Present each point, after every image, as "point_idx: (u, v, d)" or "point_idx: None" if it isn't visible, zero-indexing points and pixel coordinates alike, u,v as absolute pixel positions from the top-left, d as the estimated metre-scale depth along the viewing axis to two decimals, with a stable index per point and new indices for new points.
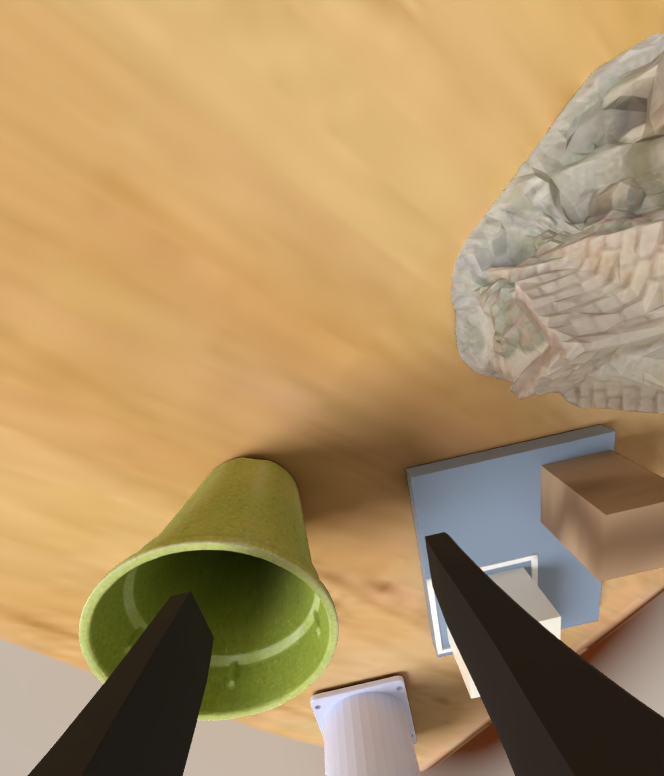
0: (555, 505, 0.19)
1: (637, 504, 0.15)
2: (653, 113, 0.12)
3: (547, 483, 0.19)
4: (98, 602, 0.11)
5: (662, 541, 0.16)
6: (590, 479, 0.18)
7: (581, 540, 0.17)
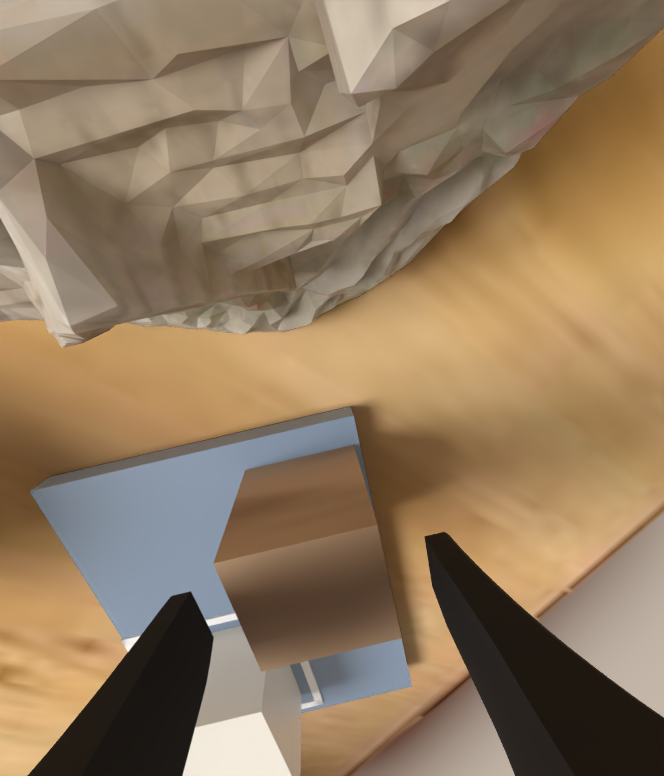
0: None
1: (277, 543, 0.08)
2: None
3: None
4: None
5: (349, 605, 0.09)
6: (275, 493, 0.11)
7: None
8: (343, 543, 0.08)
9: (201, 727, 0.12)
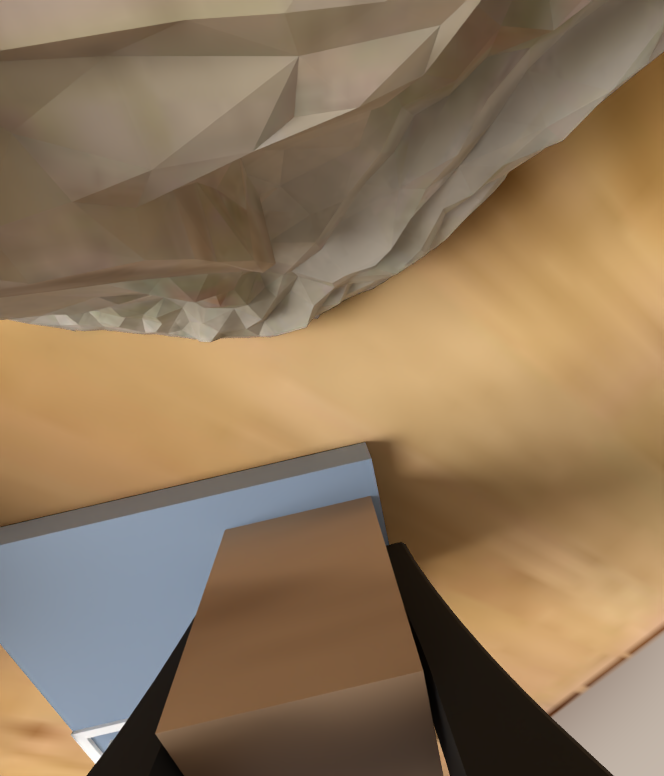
0: None
1: (261, 695, 0.05)
2: None
3: None
4: None
5: (373, 773, 0.06)
6: (261, 578, 0.07)
7: None
8: (366, 698, 0.05)
9: None
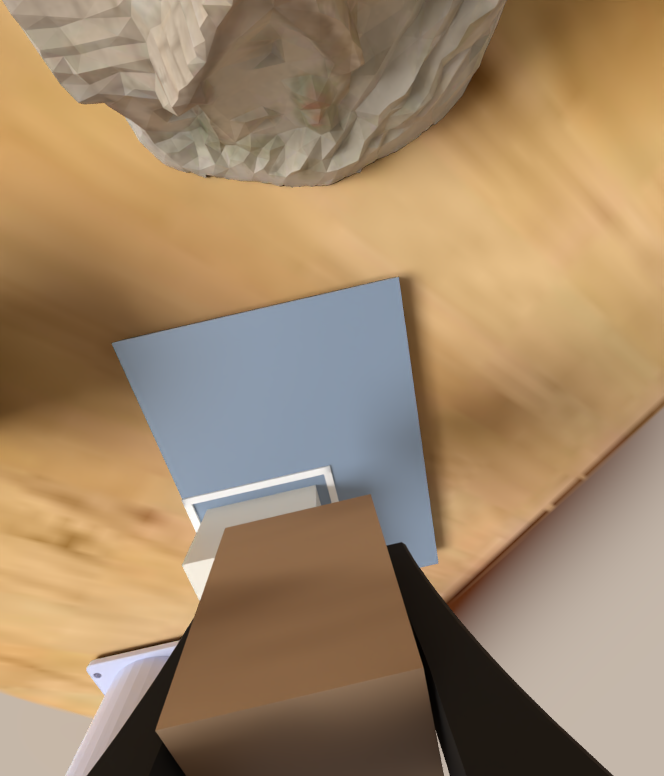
0: None
1: (261, 692, 0.05)
2: None
3: None
4: None
5: (373, 771, 0.06)
6: (262, 576, 0.07)
7: None
8: (366, 695, 0.05)
9: None
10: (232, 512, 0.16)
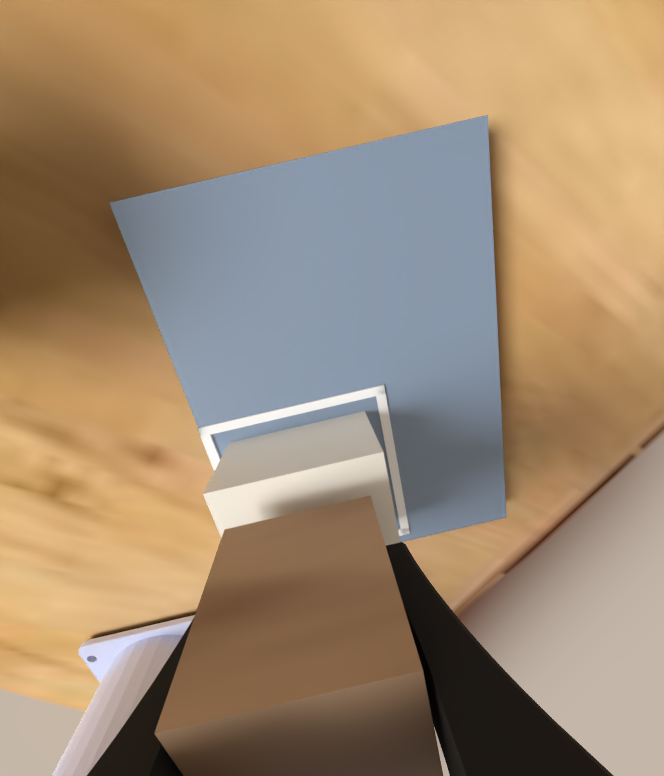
0: None
1: (260, 695, 0.05)
2: None
3: None
4: None
5: (373, 774, 0.06)
6: (261, 578, 0.07)
7: None
8: (366, 698, 0.05)
9: (313, 470, 0.10)
10: (262, 442, 0.13)
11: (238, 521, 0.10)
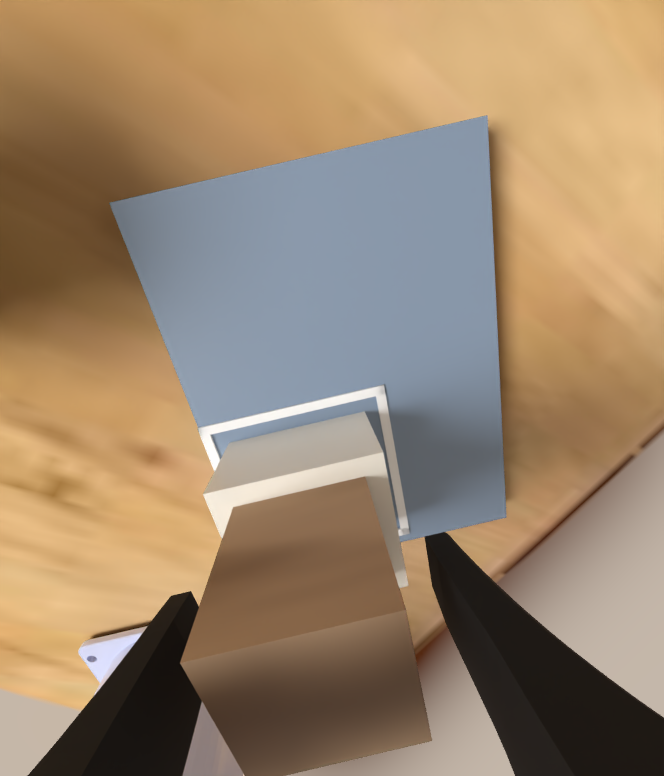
0: None
1: (269, 632, 0.06)
2: None
3: None
4: None
5: (365, 706, 0.07)
6: (267, 545, 0.08)
7: None
8: (358, 633, 0.06)
9: (312, 471, 0.10)
10: (262, 442, 0.13)
11: None
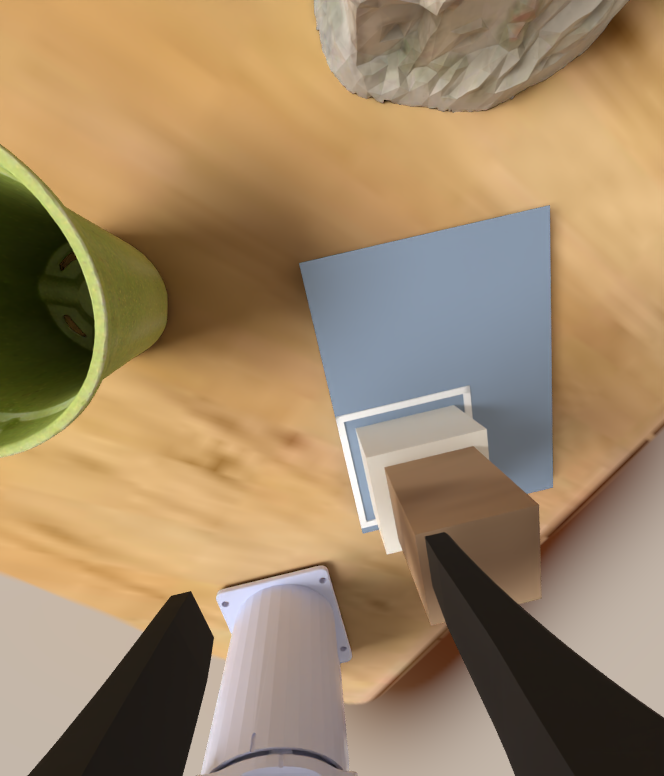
0: (398, 519, 0.15)
1: (461, 519, 0.11)
2: None
3: (390, 490, 0.15)
4: None
5: (507, 569, 0.12)
6: (428, 484, 0.13)
7: (414, 567, 0.13)
8: (511, 519, 0.11)
9: (439, 442, 0.15)
10: (384, 427, 0.18)
11: (385, 478, 0.15)
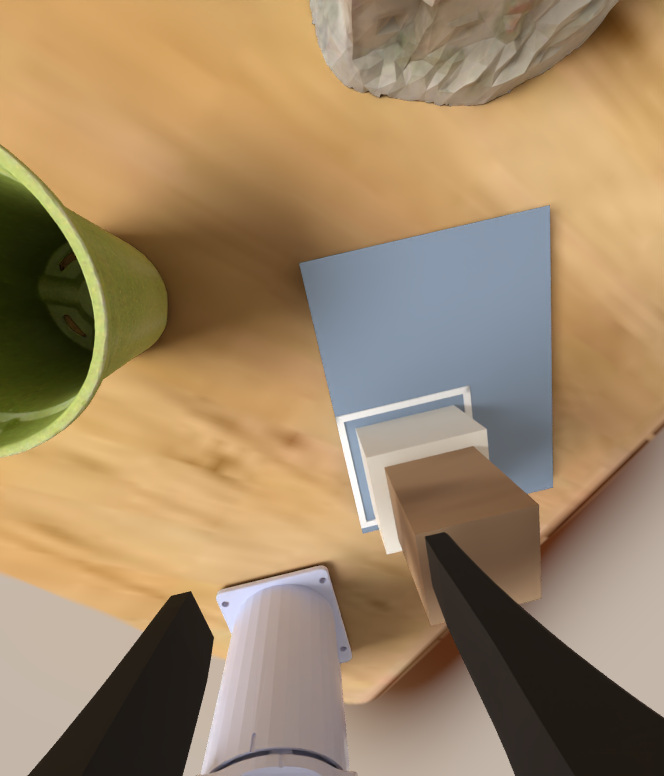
0: (398, 519, 0.15)
1: (461, 519, 0.11)
2: None
3: (390, 490, 0.15)
4: None
5: (507, 569, 0.12)
6: (428, 484, 0.13)
7: (414, 567, 0.13)
8: (511, 519, 0.11)
9: (439, 442, 0.15)
10: (384, 427, 0.18)
11: (385, 478, 0.15)
